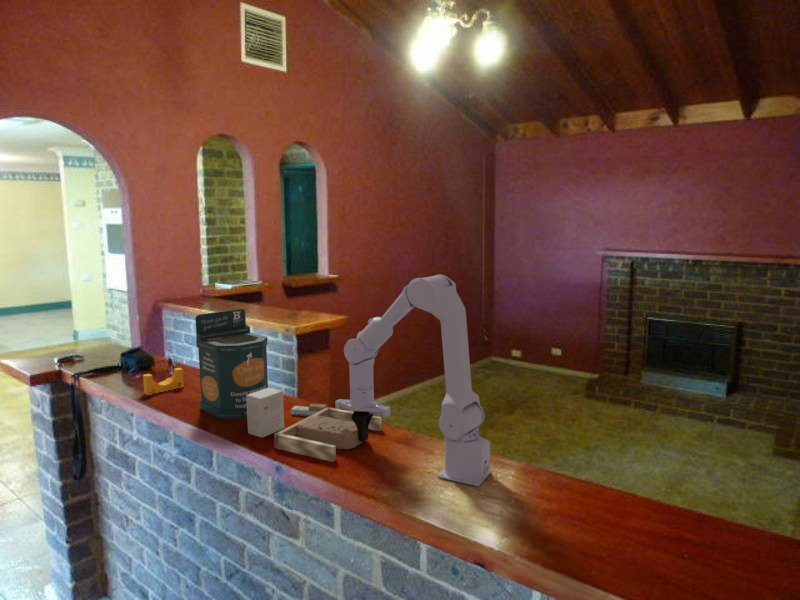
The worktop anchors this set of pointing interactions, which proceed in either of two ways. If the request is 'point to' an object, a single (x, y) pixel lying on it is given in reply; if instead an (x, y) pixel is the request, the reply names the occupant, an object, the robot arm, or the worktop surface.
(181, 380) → the pipe clamp
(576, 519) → the worktop surface
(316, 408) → the scraper bar
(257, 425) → the small box
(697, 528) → the worktop surface
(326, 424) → the brick
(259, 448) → the worktop surface
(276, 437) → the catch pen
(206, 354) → the donation box
